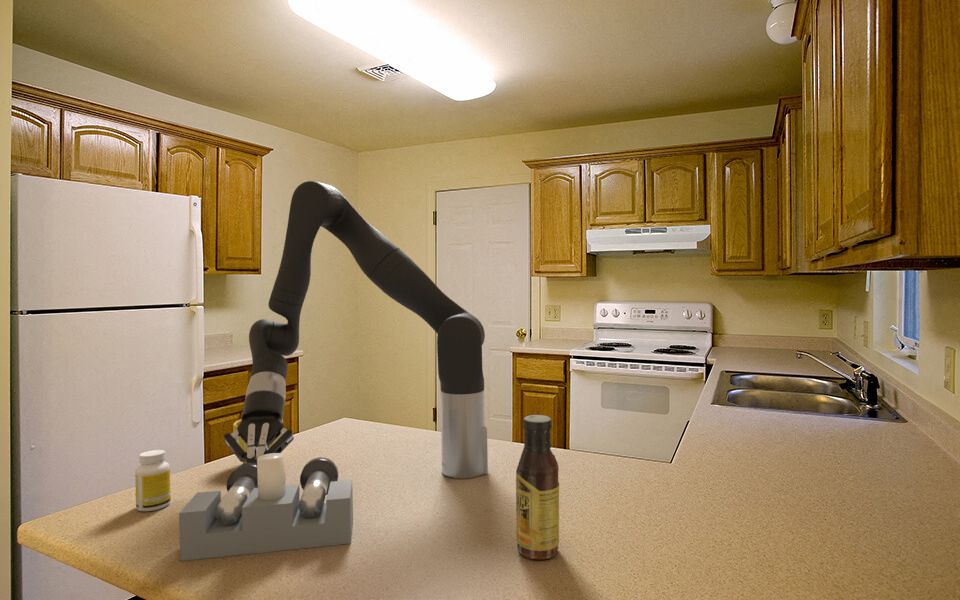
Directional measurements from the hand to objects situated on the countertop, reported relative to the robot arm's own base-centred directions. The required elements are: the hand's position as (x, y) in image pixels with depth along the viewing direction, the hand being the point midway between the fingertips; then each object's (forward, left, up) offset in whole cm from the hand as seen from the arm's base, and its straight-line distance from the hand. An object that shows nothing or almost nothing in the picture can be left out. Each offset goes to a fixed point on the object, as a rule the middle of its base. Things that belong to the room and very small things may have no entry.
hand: (253, 480), depth 98 cm
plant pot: (+4, -25, -5) cm, 26 cm away
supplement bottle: (+18, -4, -5) cm, 19 cm away
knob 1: (0, +10, -2) cm, 11 cm away
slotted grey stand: (-6, +15, -5) cm, 17 cm away
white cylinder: (-6, +15, +2) cm, 17 cm away
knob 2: (-12, +10, -2) cm, 16 cm away
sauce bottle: (-45, +28, -5) cm, 53 cm away
